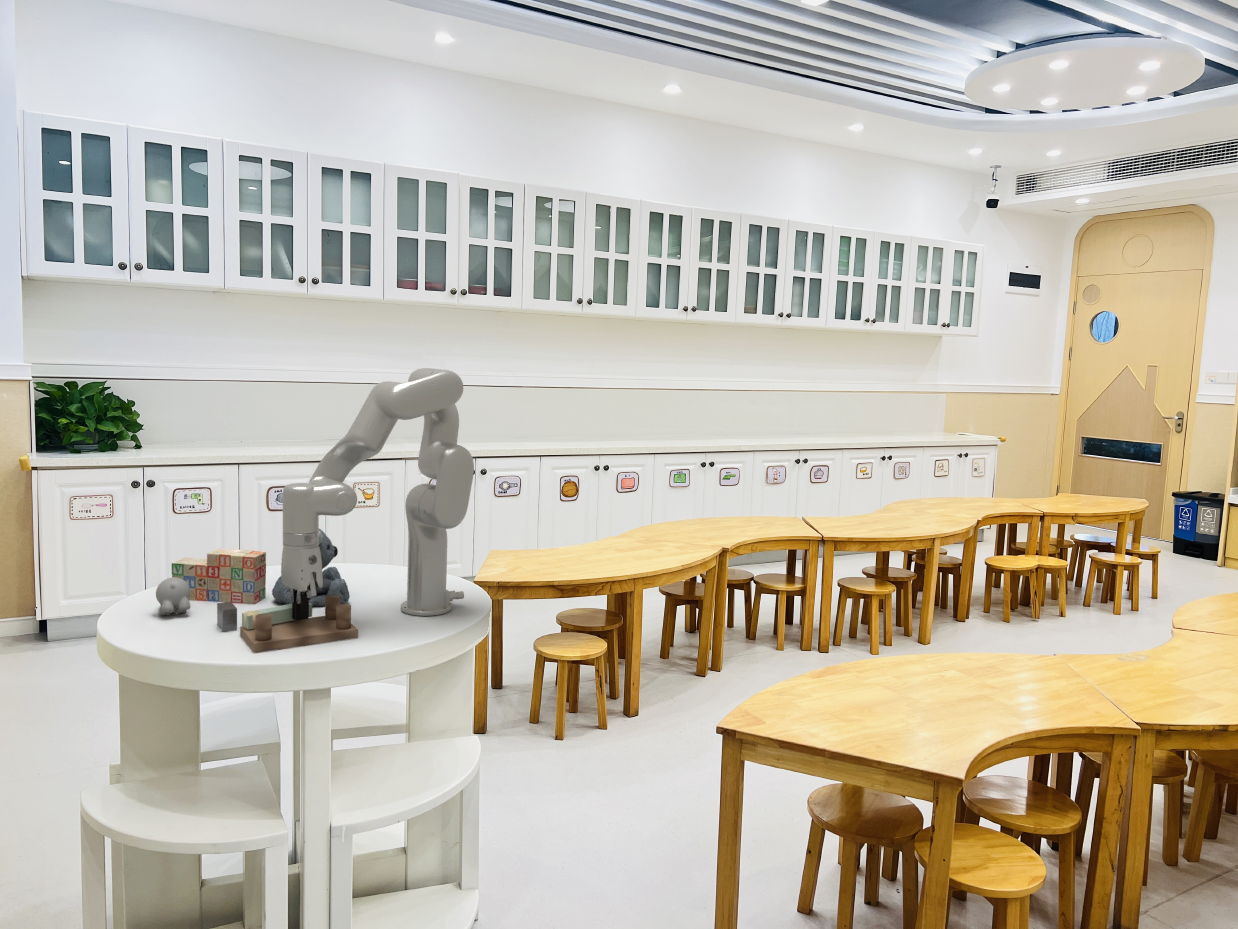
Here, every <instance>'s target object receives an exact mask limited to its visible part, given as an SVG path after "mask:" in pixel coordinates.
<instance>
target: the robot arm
mask: <svg viewBox="0 0 1238 929" xmlns="http://www.w3.org/2000/svg"><path fill="white" fill-rule="evenodd" d="M463 393H464V382H463V380H462V378H461V377H460V376H459V374H457V373H456V372H454V371H452V370H449V369H439V368H427V367H425V368H424V367H422V368H417V369H416V370H414V371H412V372H411V374H410V375H409V376H408V380H407V382H405V381H404V382H398V381H382V382H378V383H376V385H375V386H374V387H373V388H372V389H371V391H370V392H369V394H368V396H367V398H366V399H365V401H364V402H363V405H362V406H361V408H360V410H359V412H358V414H357V416H356V417H355V419H354V420H353V422H352V424H351V426H350V428H349V430H348V431H347V433H346V434H345V435H344V437H343V438H341V439H340V440H339V441H338V442H337V443H336V444H335V445H334V446H333V447H332V448H331V449H330V450H329V451H328V452H327V453H326V454H325V455H324V456H323V457H322V459H321V460H320V461H319V464H318V465H317V467H316V469H315V470H314V472H313V474H312V476H311V478H310V479H309V481H308V482H306V483H305V482H295V483H289V484H286V485H285V486H284V487H283V491H282V553H281V564H280V567H281V568H280V574H281V575H280V576H281V579H282V583H283V584H284V585H285V588H286V589H287V590H288V591H289V592H290V596H291V601H292V619H294V620H297V621H298V620H302V619H307V618H310V617H309V601H310V598H312V597H316V589H321V588H322V586H323V574H322V572H323V569H322V560H321V553H320V548H319V546H318V539H319V531H318V530H319V525H320V524H319V520H320V518H319V516H331V517H333V516H335V517H337V516H339V517H340V516H345V515H347V514H349V513H350V512H352V511H353V510H354V509H355V508H356V506H357V503H358V496H357V492H356V491H355V490H354V489H353V488H352V487H351V486H350V485H349V484H347V483H345V482H344V481H345V479H346V478H347V477H348V475H349V473H351V471H353V469H354V468H356V467H357V466H358V465H359V464H361V463H362V462H364V461H367V460H368V459H371V458H373V457H374V456H376V455H378V454H379V453H380V452H382V449H383V448H384V446H385V444H386V442H387V441H388V438H389V437H390V435H391V433H392V431H393V429H394V428H395V426H396V424H397V423H398V421H399V420H403V421H407V420H413V419H417V418H420V417H423V431H422V434H421V435H422V436H421V441H420V446H419V453H418V458H417V465H418V470H419V472H420V473H421V475H423V476H424V477H427V478H429V479H432V480H435V481H436V482H435V484H432V483H420V484H418V485H415V486H414V487H412V489H410V490H409V492H408V493H407V496H406V498H405V507H404V508H405V515H406V521H407V533H408V534H407V536H408V537H407V538H408V539H407V540H408V542H407V543H408V544H407V546H408V547H407V582H406V584H407V587H406V588H407V589H406V590H407V591H406V592H407V593H406V600H405V601H403V602H401V603H400V611H401V612H402V613H405V614H408V615H411V616H421V617H424V616H425V617H427V616H429V617H430V616H438V615H444V614H446V613H449V612H451V611H452V609H453V603H452V602H453V601H455V600H463V599H465V593H464V591H456V590H448V589H447V572H448V571H447V570H448V569H447V567H448V566H447V565H448V563H447V562H448V533H447V532H448V530H450V529H453V528H456V527H458V526H459V525H460V524H461V523H462V521H463V520H464V519H465V517H466V515H467V511H468V509H469V508H468V507H469V501H470V497H471V491H472V484H473V480H474V475H475V474H474V473H475V463H474V459H473V456H472V454H471V453H470V450H469V449H467V448H466V447H464V446H463V445H459V444H458V436H459V428H460V415H459V411H458V406H456V405H457V404H456V403H457V402H458V401H459V400H460V399H462V398H461V397H462V395H463ZM293 601H294V602H293Z"/></svg>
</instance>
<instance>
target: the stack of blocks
mask: <svg viewBox="0 0 1238 929" xmlns="http://www.w3.org/2000/svg"><path fill="white" fill-rule="evenodd" d="M266 574H267V551H258V550H257V551H256V550H252V549H236V548H235V549H234V548H233V549H232V548H217V549H214V550H212V551H211V552H208V553H206V558H196V557H195V558H194V557H184V558H180V559H178V560H175V561H173V562H171V578H173V577H176V578H180V579H183V580H184V581H185V582H186V583H187V584H188V585H189V587H190V596H189V599H188V600H189V601H200V602H214V603H215V602H216V603H224V602H232V603H233V604H243V605H256V604H258V603H260V602H261V601H263V600H264V599H266V595H267V594H266V591H267V589H266V584H267V583H266V579H267V577H266V576H267V575H266Z"/></svg>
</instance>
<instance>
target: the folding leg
mask: <svg viewBox="0 0 1238 929" xmlns="http://www.w3.org/2000/svg"><path fill="white" fill-rule="evenodd" d="M258 614H271V615H272V625H273V624H278V623H283V622H288V621H293V620H294V619H292V604H283V605H277V606H273V607H267V608H262V609H261V608H260V609H257V610H247V611H245V612H241V626H242V627H244V628H245V629H255V616H256V615H258ZM311 617H313V606H312V604H311V603H309V617H308V618H311Z"/></svg>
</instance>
